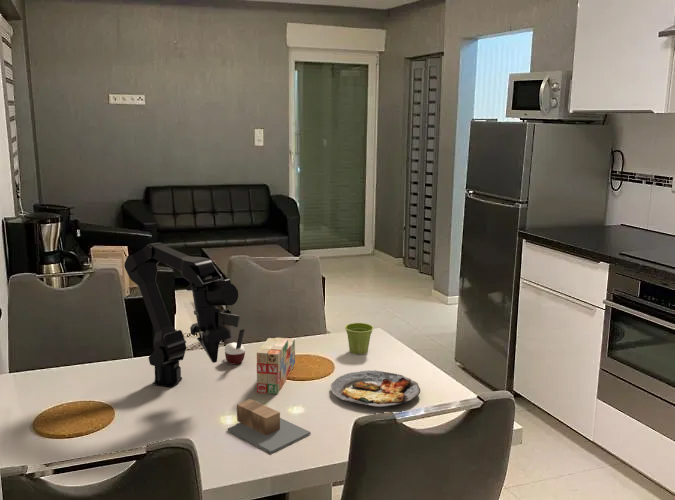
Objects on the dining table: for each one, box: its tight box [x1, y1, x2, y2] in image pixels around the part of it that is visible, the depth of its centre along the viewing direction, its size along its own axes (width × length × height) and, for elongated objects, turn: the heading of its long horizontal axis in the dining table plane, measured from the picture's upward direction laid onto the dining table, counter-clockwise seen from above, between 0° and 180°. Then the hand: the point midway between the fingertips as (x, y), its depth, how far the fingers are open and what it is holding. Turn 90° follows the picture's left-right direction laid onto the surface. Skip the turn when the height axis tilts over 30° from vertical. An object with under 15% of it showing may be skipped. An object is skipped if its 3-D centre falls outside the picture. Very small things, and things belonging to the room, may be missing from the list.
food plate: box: [330, 370, 421, 408], centre depth 181 cm, size 25×23×4 cm
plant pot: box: [344, 322, 374, 356], centre depth 213 cm, size 9×9×9 cm
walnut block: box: [236, 398, 281, 435], centre depth 159 cm, size 4×4×11 cm
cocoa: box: [224, 328, 246, 365], centre depth 201 cm, size 10×6×12 cm, turn 16°
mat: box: [227, 417, 312, 455], centre depth 157 cm, size 16×13×1 cm
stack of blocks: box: [256, 337, 296, 395], centre depth 189 cm, size 21×6×12 cm, turn 171°
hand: (214, 362), depth 173 cm, fingers closed
